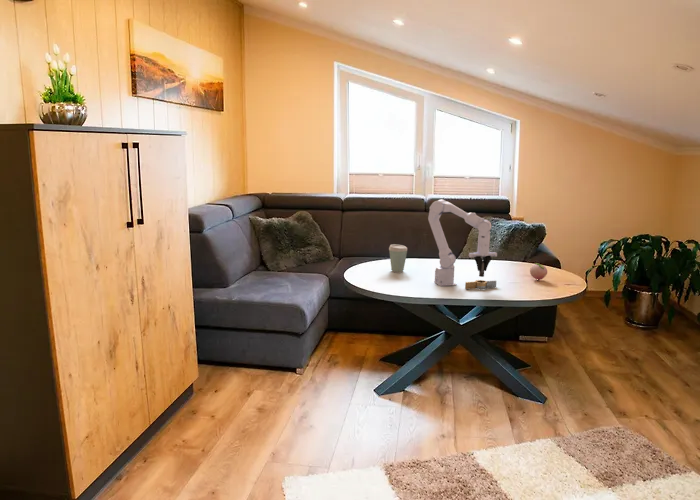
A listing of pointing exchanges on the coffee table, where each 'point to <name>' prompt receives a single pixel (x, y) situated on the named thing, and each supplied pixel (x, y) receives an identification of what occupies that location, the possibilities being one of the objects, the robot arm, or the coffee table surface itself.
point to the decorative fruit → (538, 271)
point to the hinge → (480, 284)
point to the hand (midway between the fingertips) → (481, 270)
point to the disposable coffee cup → (397, 257)
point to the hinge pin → (482, 269)
